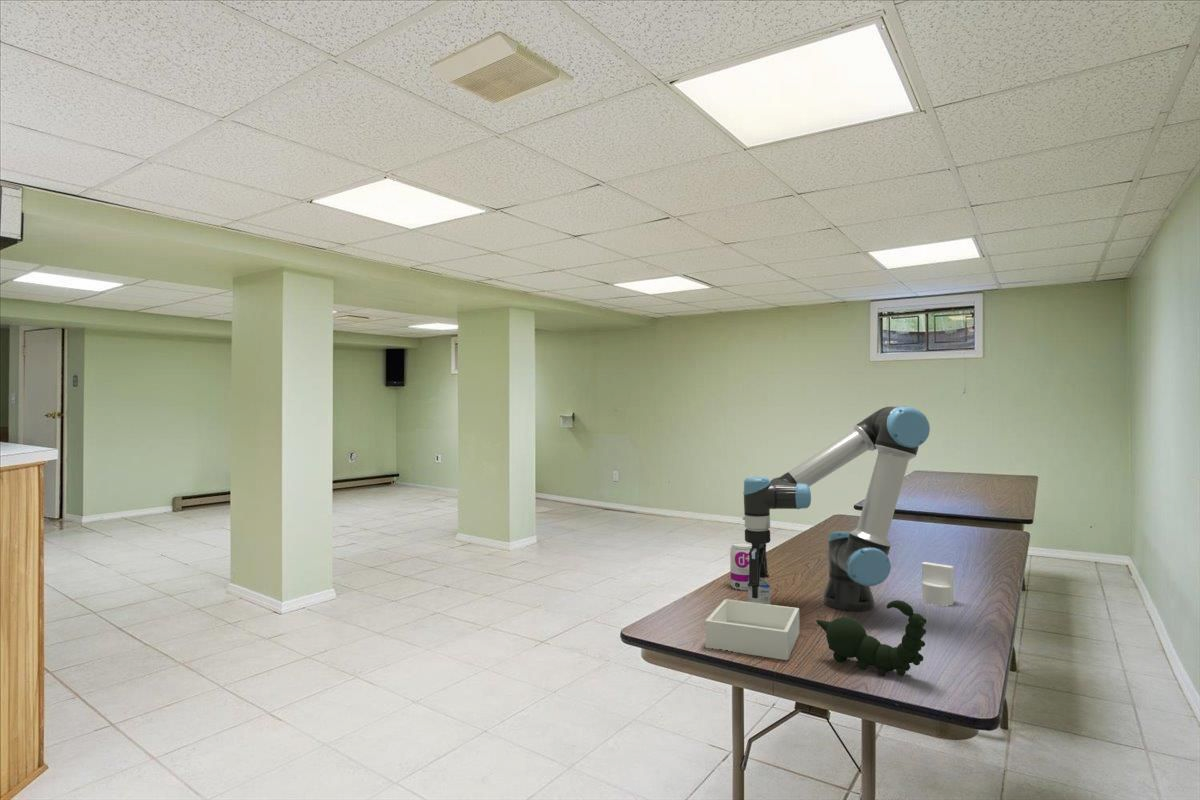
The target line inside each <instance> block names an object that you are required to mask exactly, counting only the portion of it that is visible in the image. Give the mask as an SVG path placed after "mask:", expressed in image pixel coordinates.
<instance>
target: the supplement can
mask: <svg viewBox="0 0 1200 800" xmlns="http://www.w3.org/2000/svg"><path fill="white" fill-rule="evenodd" d="M750 548H751V549H752V544H751V543H748V542H734V543H732V544H731V547H730V549H729V550H730V559H729V561H730V562H729V563H730V568H729V569H730V571H729V572H730V586H731V587H732V589H734V588H735V589H734V590H737V589H740V590H739V591H748V579H749V551H750Z"/></svg>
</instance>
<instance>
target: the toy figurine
mask: <svg viewBox="0 0 1200 800" xmlns="http://www.w3.org/2000/svg"><path fill="white" fill-rule="evenodd" d="M892 608H895V609H898V611H900V612H901V614H903V615H905V616H908V619H907V621H908V623H907V624H906V625H905V628H904V630H905V631H904V632H905V633H904V634H903V635H902V638H901V643H899V644H898V646H895V647H892V646H890V645H889V644H885V643H881V642H880V641H879V640H878V639H877V638H876V637H873V636H871V635H869V634H868V633H867V631H866V629H865V627H864V626H863V625H862V624H861V623H860V622H859V621H858V620H856V619H854V618H853V617H848V616H841V617H837V618H835V619H833V620H831V621H829V620H822V619H815V622H816V623H817V624H818V626H819V627H820V628H821V629H822V630H823V631H824V632H825V634H826V635H825V636H826V638H825V639H826V641H827V644H828V649H829V650H831V651H833V654H832V656H833V660H834V661H835V662H837V663H842V664H843V663H844V662H847V660H848V659H854V658H855V659H856V660H857V661H856V665H857V667H858V669H860V670H863V671H865V670H867V669H868V668H869V666H872V667H873V666H874V668H876V673H877V675H879V676H881V677H885V676H886V674H887V673H890V672H892V671H896V675H898V676H900V677H904V676H906V674H907V672H908V671H910V669H911V664H913V666H914V665H915V666H920V664H921V662H923V661H924V656H923V654H921V653H919V652H920V651H922V648H924V647H925V646H926V642H925V641H924V640H922V639H923V637H924V635H926V633H927V630H926V629H925V628H924V627H925V625H926V624H927V622H928V621H927V619H926V618H925V617H923V616H922V615H921V614H920V613H916V612H915V613H914V609H913V607H912V605H910V604H909V603H908V602H906V601H904V600H899V599H898V600H897V599H896V600H892V601H890V602H889V603H887V605H886V609H892Z"/></svg>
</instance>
